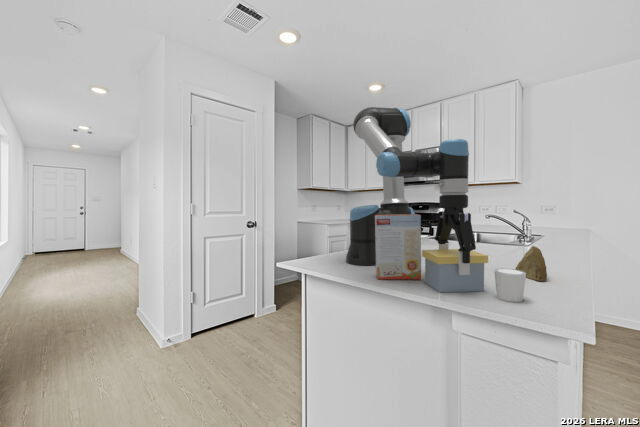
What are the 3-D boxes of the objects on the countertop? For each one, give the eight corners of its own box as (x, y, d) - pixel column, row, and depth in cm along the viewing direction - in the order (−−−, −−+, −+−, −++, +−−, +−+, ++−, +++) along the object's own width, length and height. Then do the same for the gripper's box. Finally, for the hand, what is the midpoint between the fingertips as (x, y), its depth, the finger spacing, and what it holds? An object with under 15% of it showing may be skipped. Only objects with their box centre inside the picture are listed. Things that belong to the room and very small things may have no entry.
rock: (558, 276, 84) (554, 265, 92) (537, 252, 86) (535, 243, 94) (522, 292, 90) (521, 280, 98) (503, 270, 92) (503, 260, 100)
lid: (422, 259, 89) (422, 249, 89) (466, 258, 90) (466, 248, 89) (438, 267, 78) (438, 256, 78) (488, 266, 79) (488, 255, 78)
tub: (425, 282, 89) (425, 256, 88) (464, 281, 89) (465, 255, 89) (439, 292, 79) (439, 263, 79) (483, 290, 80) (484, 262, 79)
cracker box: (417, 275, 97) (417, 213, 96) (421, 280, 91) (421, 214, 90) (375, 275, 98) (374, 214, 97) (376, 279, 92) (376, 215, 91)
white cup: (528, 297, 74) (529, 270, 73) (522, 304, 69) (523, 276, 69) (498, 292, 79) (498, 266, 78) (490, 298, 74) (490, 271, 74)
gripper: (424, 195, 94) (424, 261, 95) (462, 193, 71) (462, 280, 72) (446, 194, 95) (446, 260, 96) (492, 193, 71) (491, 280, 72)
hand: (453, 269), depth 84 cm, fingers closed on lid, 11 cm apart
